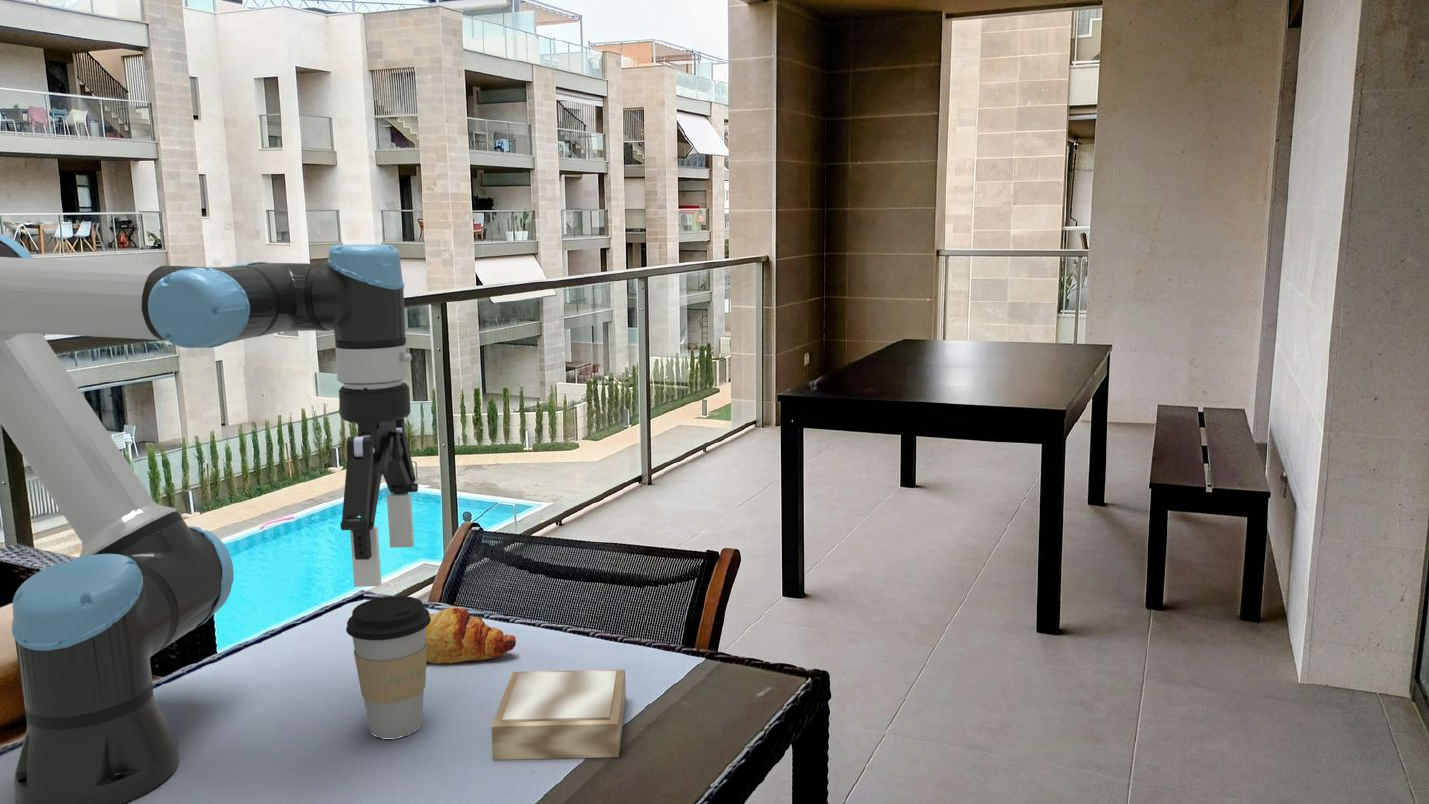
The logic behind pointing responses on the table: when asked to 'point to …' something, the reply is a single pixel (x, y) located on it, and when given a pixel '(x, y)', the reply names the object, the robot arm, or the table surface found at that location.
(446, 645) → the croissant
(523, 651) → the table surface
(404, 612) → the coffee cup
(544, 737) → the plinth
